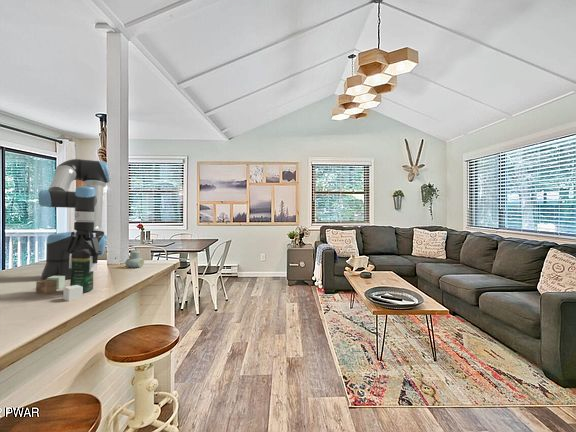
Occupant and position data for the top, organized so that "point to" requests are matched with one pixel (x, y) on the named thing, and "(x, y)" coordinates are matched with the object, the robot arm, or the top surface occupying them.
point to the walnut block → (46, 286)
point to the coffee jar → (81, 270)
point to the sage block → (58, 281)
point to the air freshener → (134, 260)
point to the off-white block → (73, 293)
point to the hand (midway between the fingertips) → (82, 269)
